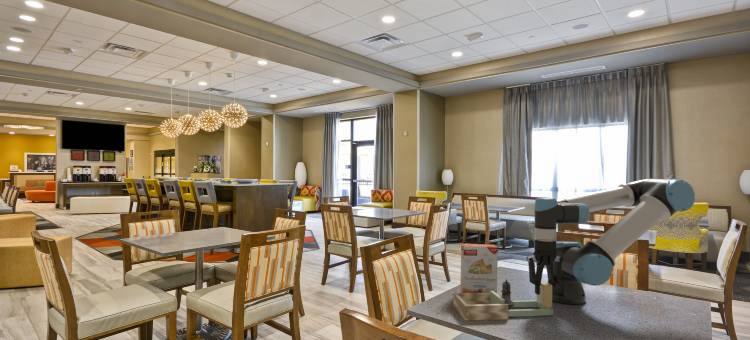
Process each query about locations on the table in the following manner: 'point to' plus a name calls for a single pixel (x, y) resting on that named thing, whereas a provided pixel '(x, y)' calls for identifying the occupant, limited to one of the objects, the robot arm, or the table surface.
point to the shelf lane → (479, 307)
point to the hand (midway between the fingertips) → (544, 302)
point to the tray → (529, 303)
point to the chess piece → (507, 294)
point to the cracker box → (478, 268)
